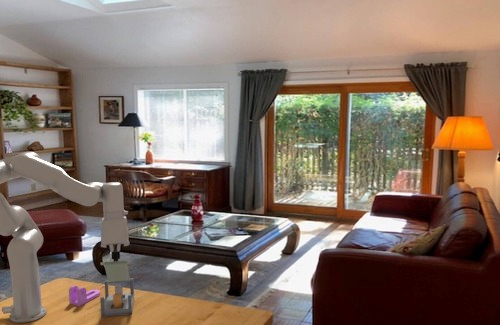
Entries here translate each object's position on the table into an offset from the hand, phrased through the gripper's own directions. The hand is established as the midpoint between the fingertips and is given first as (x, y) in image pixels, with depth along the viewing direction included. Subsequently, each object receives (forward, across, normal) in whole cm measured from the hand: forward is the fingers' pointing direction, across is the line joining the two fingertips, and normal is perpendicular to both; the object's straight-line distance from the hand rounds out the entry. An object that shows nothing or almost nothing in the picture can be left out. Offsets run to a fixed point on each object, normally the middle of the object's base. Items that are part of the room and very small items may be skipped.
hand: (116, 260), depth 172 cm
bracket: (+20, +14, -12) cm, 26 cm away
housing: (+19, 0, 0) cm, 19 cm away
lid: (+6, 0, -2) cm, 7 cm away
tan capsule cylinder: (+18, 0, +4) cm, 18 cm away
